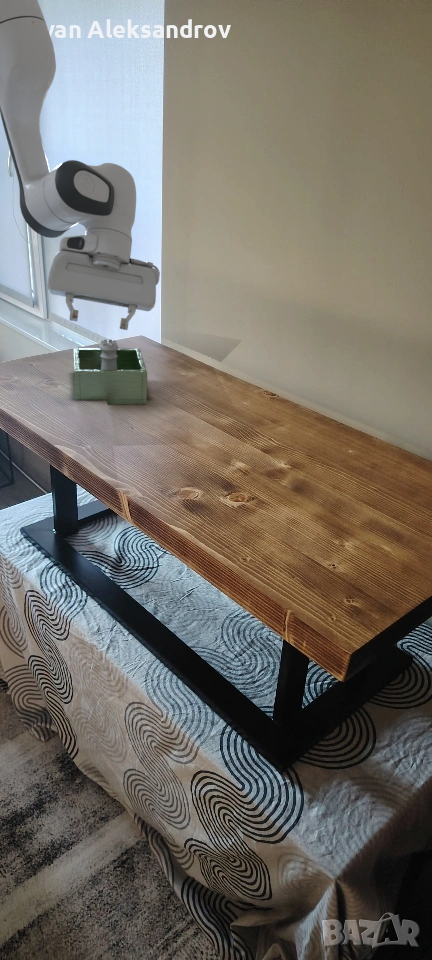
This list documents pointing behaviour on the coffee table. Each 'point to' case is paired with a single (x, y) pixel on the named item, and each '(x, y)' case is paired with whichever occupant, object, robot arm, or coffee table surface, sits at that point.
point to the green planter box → (110, 377)
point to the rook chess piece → (108, 354)
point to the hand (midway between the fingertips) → (98, 324)
